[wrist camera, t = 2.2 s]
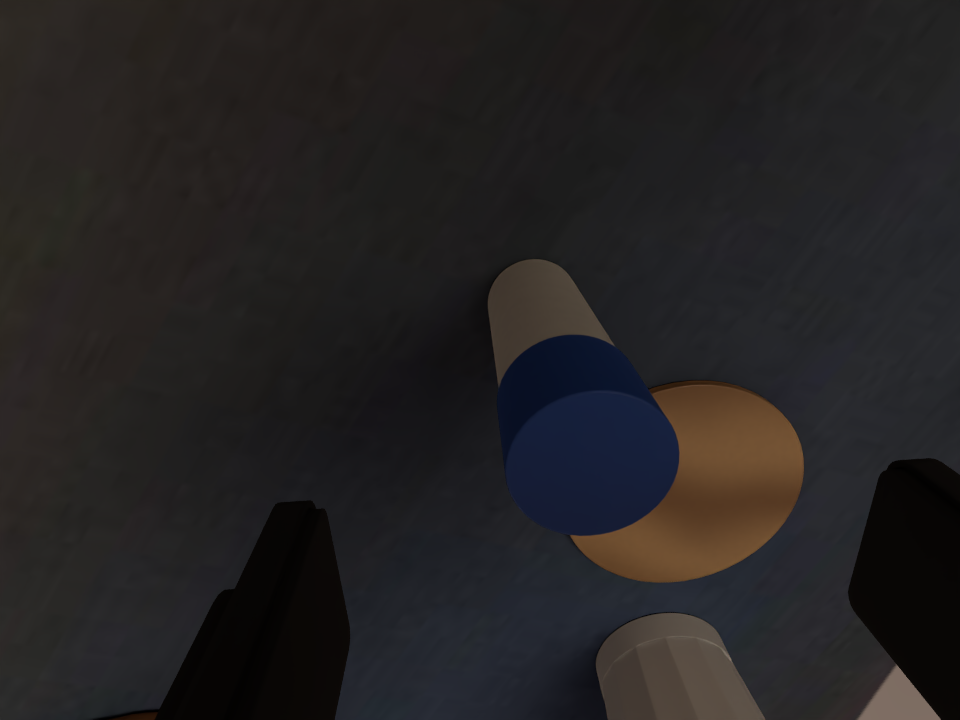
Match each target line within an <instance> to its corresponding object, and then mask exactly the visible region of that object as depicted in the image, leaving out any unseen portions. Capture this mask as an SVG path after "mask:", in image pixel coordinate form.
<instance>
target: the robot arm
mask: <svg viewBox="0 0 960 720" xmlns="http://www.w3.org/2000/svg"><path fill="white" fill-rule="evenodd" d="M848 595H849V601H850V604H851V606H852V608H853V610H854V612H855V613H856V614H857V616H858V617H859V618H860V619H861V621H862V622H863V623H864V624H865V626H866V627H867V628H868V629H869V631H870V632H871V633H872V634H873V636H874V637H875V638H876V639H877V641H878V642H879V643H880V644H881V645H882V647H883V648H884V649H885V650H886V652H887V653H888V654H889V655H890V657H891V658H892V659H893V660H894V662H895V663H896V664H897V665H898V667H899V668H900V669H901V670H902V671H903V673H904V674H905V675H906V677H907V678H908V679H909V680H910V681H911V683H912V684H913V685H914V686H915V688H916V689H917V690H918V691H919V692H920V694H921V695H922V696H923V698H924V699H925V700H926V701H927V703H928V704H929V705H930V706H931V707H932V709H933V710H934V711H935V712H936V714H937V715H938V716H939V717H940V719H941V720H960V475H959V474H958V473H956V472H955V471H953V470H952V469H951V468H949V467H948V466H946V465H945V464H944V463H942V462H940V461H938V460H936V459H931V458H926V459H911V460H898V461H894V462H892V463H891V464H890V465H889V466H888V468H887V470H886V471H883V472H882V473H881V474H880V476H879V479H878V483H877V486H876V490H875V494H874V497H873V501H872V505H871V508H870V512H869V516H868V519H867V523H866V527H865V530H864V534H863V538H862V541H861V545H860V549H859V552H858V556H857V560H856V563H855V567H854V571H853V574H852V578H851V582H850V585H849V590H848ZM349 645H350V626H349V620H348V615H347V610H346V605H345V600H344V596H343V591H342V586H341V581H340V576H339V571H338V566H337V561H336V556H335V551H334V546H333V541H332V536H331V531H330V526H329V521H328V516H327V513H326V510H325V509H316V507H315V504H314V503H313V501H295V502H281V503H277V504H275V506H274V507H273V509H272V511H271V513H270V515H269V518H268V520H267V522H266V524H265V526H264V528H263V530H262V532H261V534H260V537H259V539H258V541H257V543H256V545H255V547H254V549H253V551H252V554H251V556H250V558H249V560H248V562H247V564H246V566H245V568H244V570H243V573H242V575H241V577H240V579H239V581H238V583H237V585H236V587H235V589H229V590H224V591H222V592H221V593H220V594H219V595H218V596H217V598H216V599H215V601H214V602H213V604H212V606H211V608H210V610H209V612H208V614H207V616H206V618H205V620H204V622H203V624H202V626H201V628H200V630H199V632H198V634H197V636H196V638H195V640H194V642H193V644H192V646H191V648H190V650H189V652H188V654H187V656H186V658H185V660H184V662H183V664H182V666H181V668H180V670H179V672H178V674H177V676H176V678H175V680H174V682H173V684H172V686H171V688H170V690H169V692H168V694H167V696H166V698H165V700H164V702H163V704H162V706H161V708H160V710H159V711H158V713H157V715H156V717H155V719H154V720H335V715H336V710H337V705H338V700H339V695H340V690H341V685H342V680H343V676H344V671H345V666H346V661H347V656H348V651H349Z"/></svg>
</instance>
